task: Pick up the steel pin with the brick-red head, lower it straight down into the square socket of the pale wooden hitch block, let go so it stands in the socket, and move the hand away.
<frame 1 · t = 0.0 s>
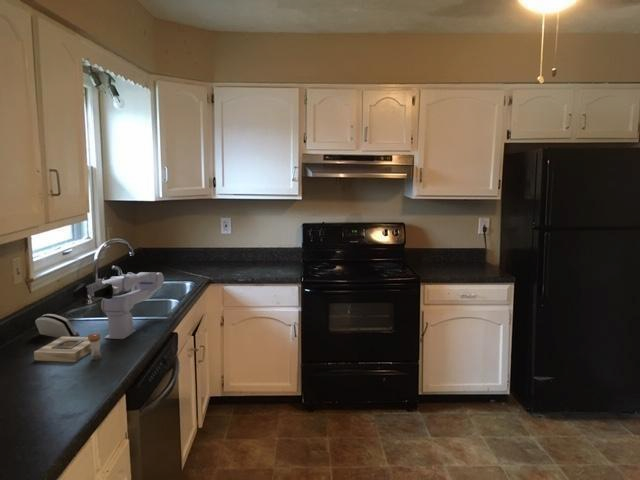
hand: (84, 294, 170), 22 cm above the countertop, tool horizontal, fingers open, 7 cm apart
hitch block: (68, 352, 175), on the countertop
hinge: (57, 336, 193), on the countertop
pin: (96, 358, 170), on the countertop
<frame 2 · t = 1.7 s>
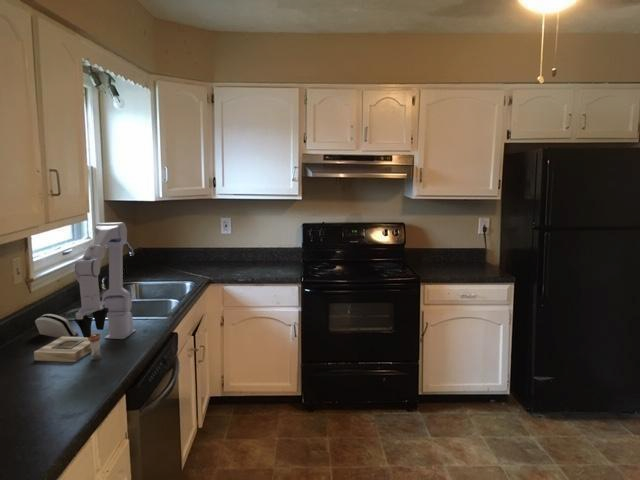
hand: (93, 333, 168), 9 cm above the countertop, tool pointing down, fingers open, 7 cm apart
nothing on the countertop moved.
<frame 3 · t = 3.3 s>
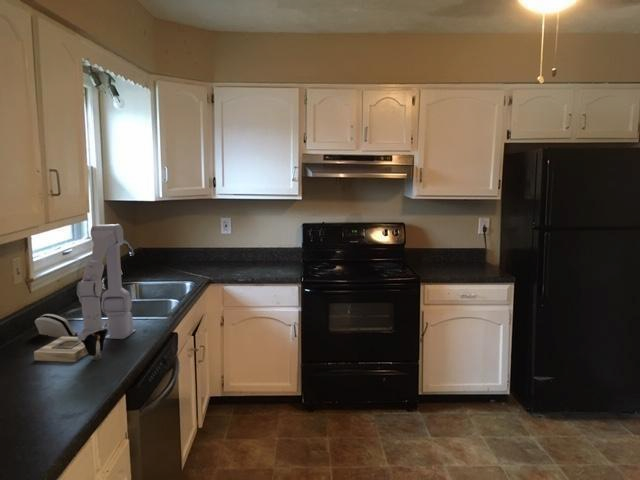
hand: (95, 352, 169), 2 cm above the countertop, tool pointing down, fingers closed on pin, 3 cm apart
pin: (96, 358, 170), on the countertop, touching gripper
everything else where it was.
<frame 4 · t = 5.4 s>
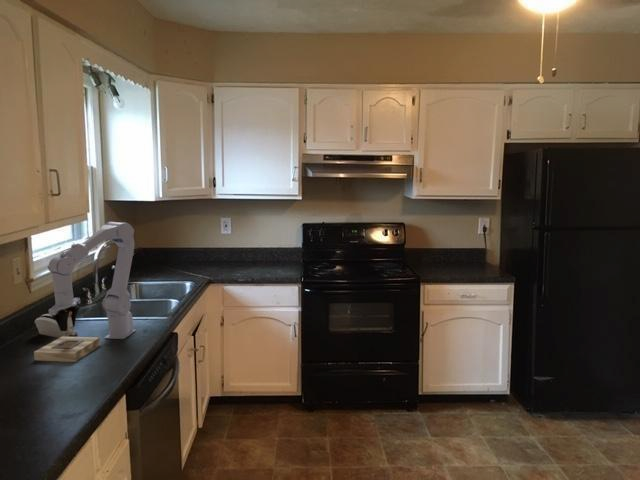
hand: (67, 328, 173), 9 cm above the countertop, tool pointing down, fingers closed on pin, 3 cm apart
pin: (69, 334, 174), point 7 cm above the countertop, touching gripper
everything else where it was.
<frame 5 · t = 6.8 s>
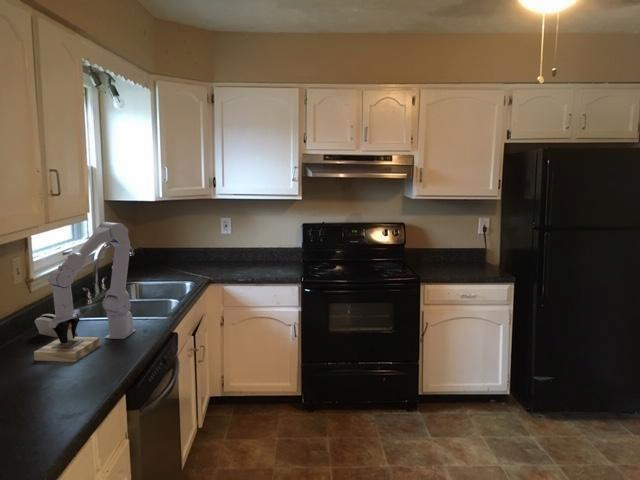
hand: (67, 340, 175), 4 cm above the countertop, tool pointing down, fingers closed on pin, 3 cm apart
pin: (69, 346, 175), point 2 cm above the countertop, touching gripper
everything else where it was.
when the fingers open (4 cm above the countertop, at t = 7.6 s): pin drops 2 cm, resting in hitch block.
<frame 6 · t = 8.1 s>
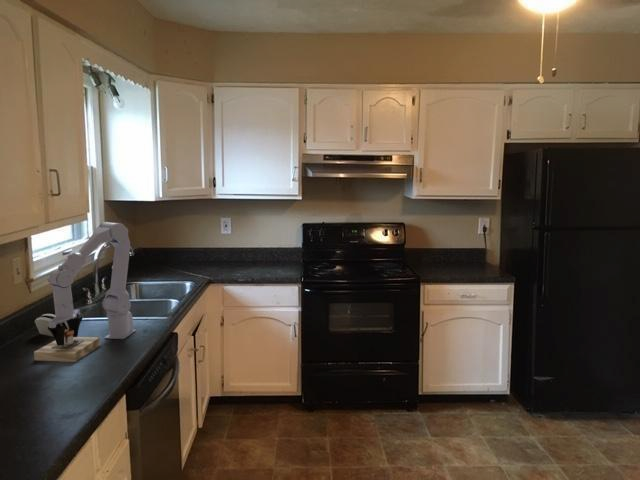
hand: (67, 340, 175), 4 cm above the countertop, tool pointing down, fingers open, 7 cm apart
pin: (69, 352, 175), resting in hitch block
everything else where it was.
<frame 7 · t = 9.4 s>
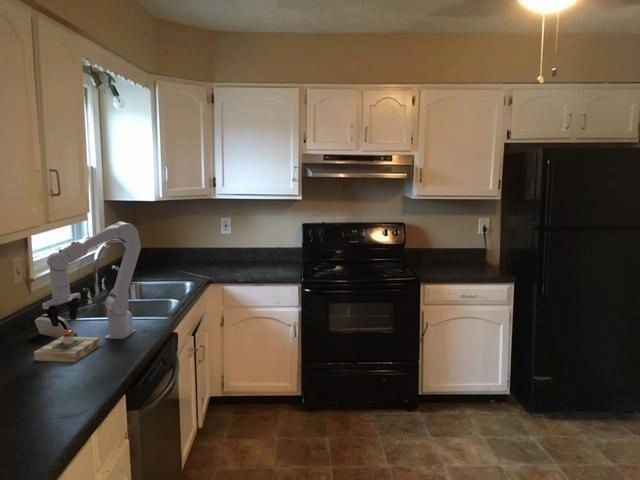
hand: (64, 322, 179), 9 cm above the countertop, tool pointing down, fingers open, 7 cm apart
nothing on the countertop moved.
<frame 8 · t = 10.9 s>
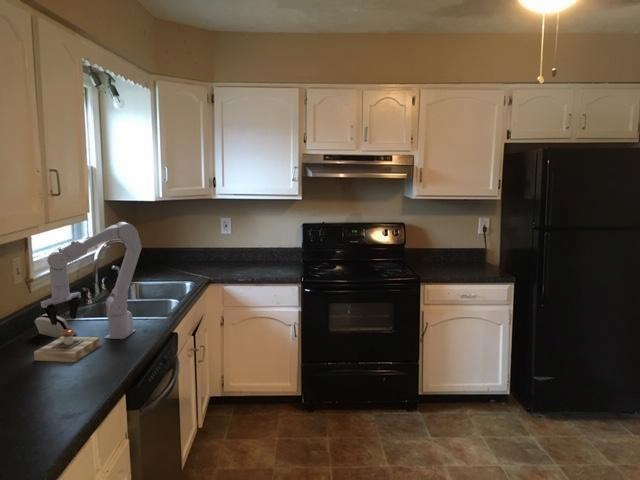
hand: (63, 321, 180), 9 cm above the countertop, tool pointing down, fingers open, 7 cm apart
nothing on the countertop moved.
at the end: pin 0.5 cm off-centre on the hitch block, point 0.0 cm above the hitch block's base; pin tilted 0°; the gripper is holding nothing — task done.
